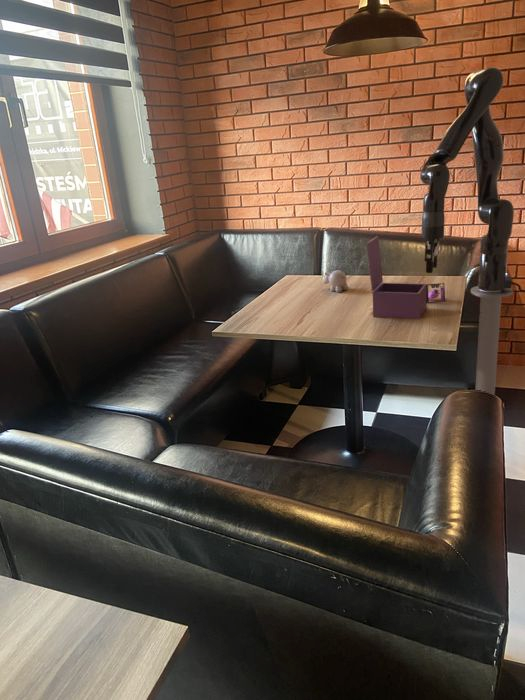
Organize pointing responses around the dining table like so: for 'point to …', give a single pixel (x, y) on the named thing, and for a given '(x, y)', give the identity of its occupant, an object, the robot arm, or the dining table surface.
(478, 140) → the robot arm
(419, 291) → the box
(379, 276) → the lid
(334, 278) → the chubby cartoon animal
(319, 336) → the dining table surface
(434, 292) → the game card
